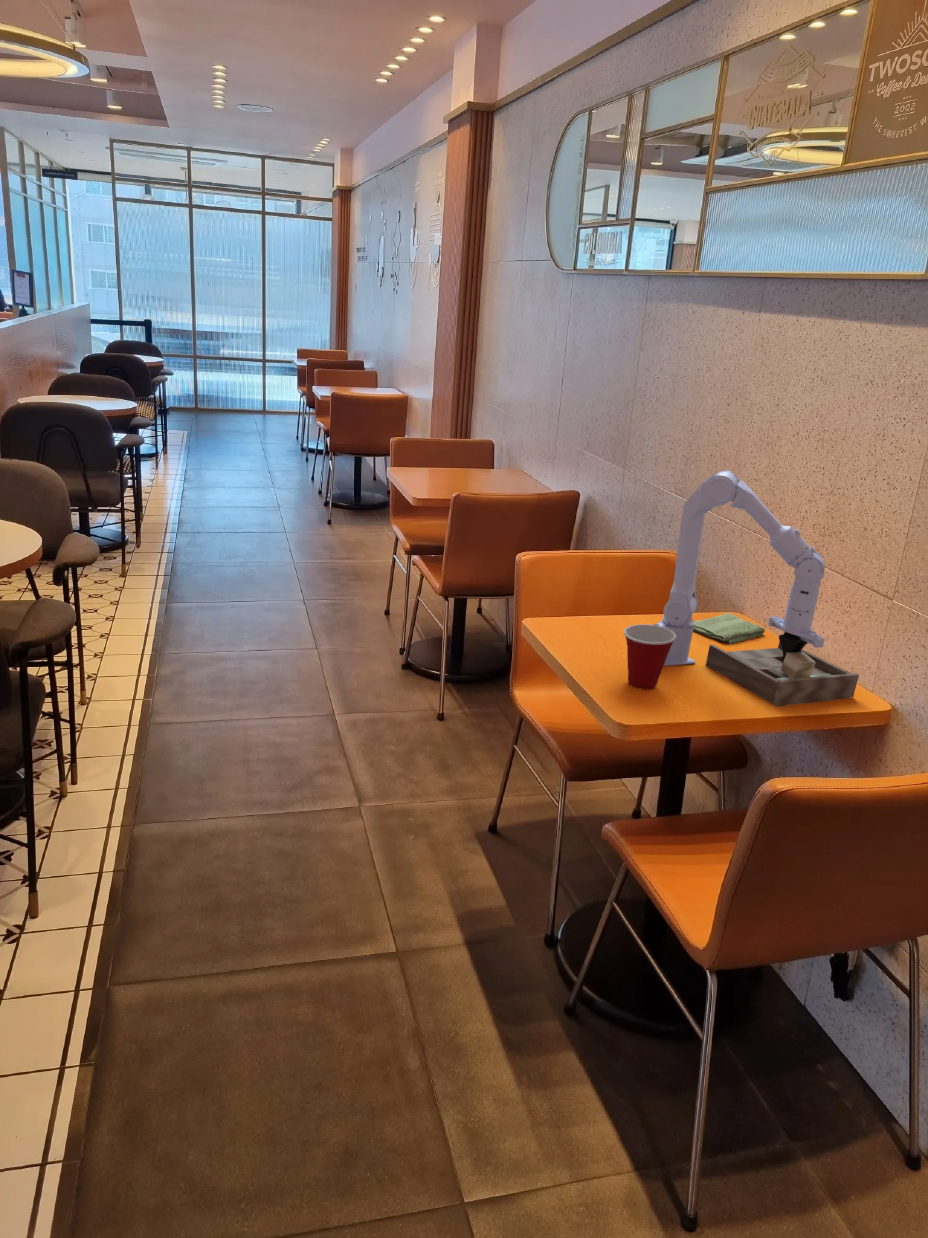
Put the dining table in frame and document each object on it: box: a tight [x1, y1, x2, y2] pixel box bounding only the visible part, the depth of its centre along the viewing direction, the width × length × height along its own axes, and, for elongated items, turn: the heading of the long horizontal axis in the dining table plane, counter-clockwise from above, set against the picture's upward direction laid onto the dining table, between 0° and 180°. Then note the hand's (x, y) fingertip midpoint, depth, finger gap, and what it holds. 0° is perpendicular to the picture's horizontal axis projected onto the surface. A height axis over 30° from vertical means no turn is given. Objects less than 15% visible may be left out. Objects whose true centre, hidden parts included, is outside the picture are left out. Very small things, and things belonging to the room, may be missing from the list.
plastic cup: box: [623, 623, 676, 691], centre depth 189 cm, size 11×11×12 cm
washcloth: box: [693, 612, 766, 645], centre depth 231 cm, size 13×18×3 cm
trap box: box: [705, 640, 860, 707], centre depth 200 cm, size 22×23×6 cm
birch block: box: [781, 652, 816, 679], centre depth 195 cm, size 4×4×4 cm
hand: (787, 666), depth 198 cm, fingers closed, pressing on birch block
